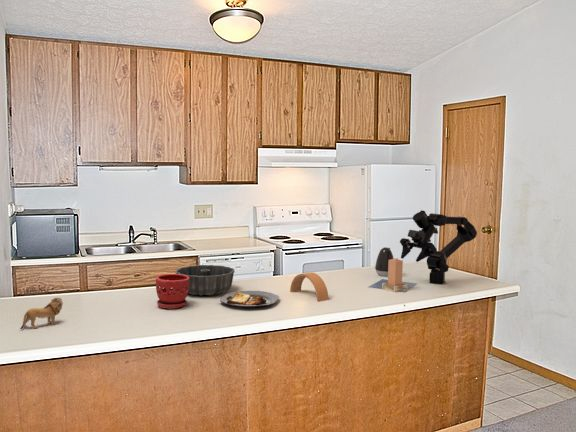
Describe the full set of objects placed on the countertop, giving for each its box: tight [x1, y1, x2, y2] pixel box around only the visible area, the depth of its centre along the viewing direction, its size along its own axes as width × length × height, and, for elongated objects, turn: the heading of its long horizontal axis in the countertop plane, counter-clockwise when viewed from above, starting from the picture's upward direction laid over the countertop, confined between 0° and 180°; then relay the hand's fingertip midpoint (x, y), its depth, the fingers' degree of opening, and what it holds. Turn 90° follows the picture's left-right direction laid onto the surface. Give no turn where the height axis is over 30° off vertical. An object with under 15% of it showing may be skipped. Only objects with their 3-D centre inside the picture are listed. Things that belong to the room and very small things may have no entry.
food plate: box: [219, 290, 280, 308], centre depth 207 cm, size 25×23×4 cm
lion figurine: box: [19, 297, 64, 330], centre depth 174 cm, size 15×5×9 cm, turn 141°
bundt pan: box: [174, 264, 236, 297], centre depth 223 cm, size 26×26×10 cm
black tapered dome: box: [374, 246, 394, 278], centre depth 259 cm, size 10×10×15 cm
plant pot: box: [155, 273, 189, 310], centre depth 200 cm, size 13×13×12 cm
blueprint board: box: [368, 278, 418, 293], centre depth 237 cm, size 18×20×1 cm
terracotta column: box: [387, 257, 404, 287], centre depth 228 cm, size 4×4×14 cm
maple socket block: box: [381, 283, 408, 293], centre depth 229 cm, size 8×8×2 cm
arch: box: [289, 272, 329, 302], centre depth 218 cm, size 6×20×10 cm, turn 35°
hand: (408, 259), depth 233 cm, fingers open, 9 cm apart
